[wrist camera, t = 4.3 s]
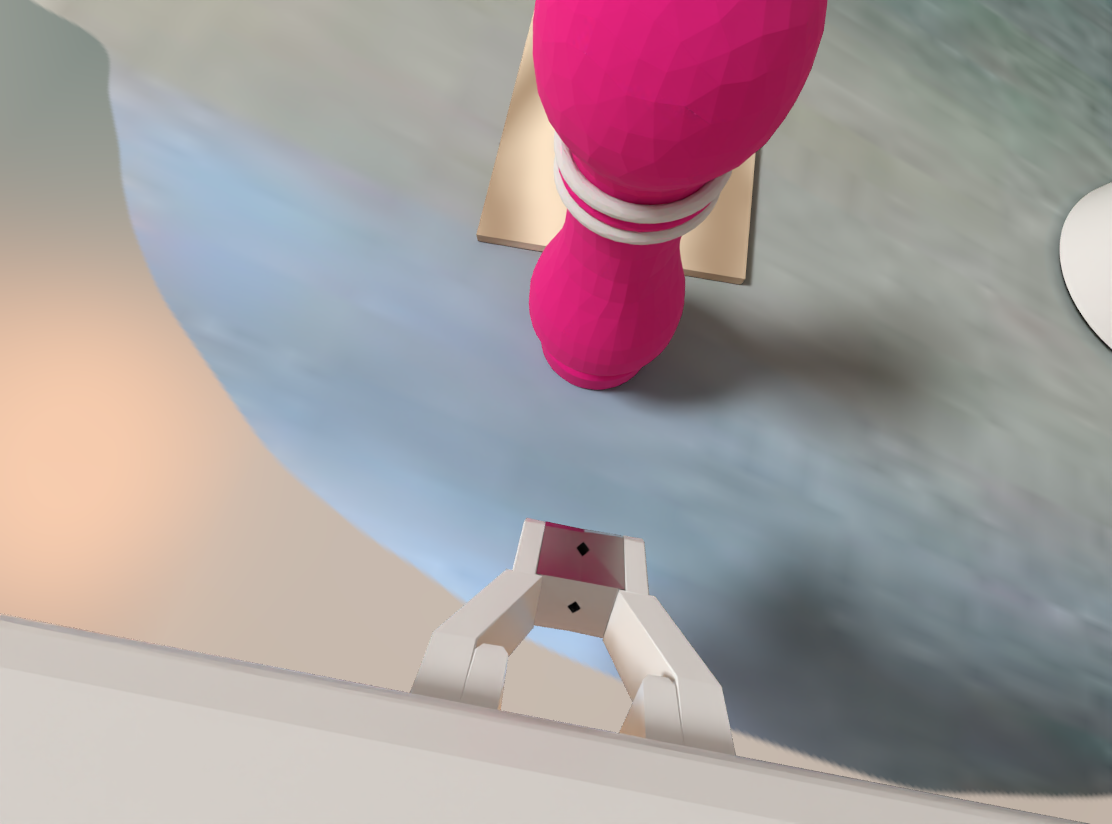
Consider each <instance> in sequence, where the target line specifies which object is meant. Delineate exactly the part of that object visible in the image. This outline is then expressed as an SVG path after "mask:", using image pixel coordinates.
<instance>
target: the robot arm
mask: <svg viewBox="0 0 1112 824" xmlns="http://www.w3.org/2000/svg"><path fill="white" fill-rule="evenodd" d="M1060 261H1061V268H1062V272H1063V276H1064V279H1065V282H1066V285H1067V288H1068V290H1069V292H1070V295H1071V297H1072V299H1073V301H1074V302H1075V304H1076V306H1077V308H1078V309H1079V311H1080V313H1081V314H1082V316H1083V317H1084V318H1085V320H1086V321H1087V323H1088V324H1089V325H1090V326H1091V328H1092V329H1093V330H1094V331H1095V332H1096V334H1097V335H1098V336H1099V337H1100V338H1101V339H1102V340H1103V341H1104V342H1105V343H1106V344H1107V345H1108V346H1109V347H1110V348H1111V349H1112V182H1111V183H1108V184H1106V185H1104V186H1102V187H1099V188H1097V189H1095V190H1093V191H1092V192H1090V193H1088V194H1087V195H1086V196H1084V197H1083V198H1082V199H1081V200H1080V201H1079V202H1078V203H1077V204H1076V205H1075V206H1074V207H1073V209H1072V210H1071V212H1070V213H1069V215H1068V217H1067V219H1066V221H1065V223H1064V226H1063V229H1062V233H1061V238H1060ZM544 527H545V529H544ZM534 625H535V626H542V627H548V628H554V629H561V630H567V631H572V632H577V633H581V634H586V635H591V636H595V637H600V638H603V642H604V644H605V646H606V648H607V650H608V652H609V654H610V656H611V658H612V660H613V663H614V665H615V667H616V669H617V671H618V673H619V675H620V677H621V679H622V681H623V683H624V686H625V688H626V690H627V692H628V694H629V696H630V698H631V700H632V702H633V703H632V706H631V708H630V710H629V712H628V714H627V717H626V719H625V721H624V723H623V725H622V727H621V730H620V732H619V733H616V732H611V731H605V730H600V729H595V728H589V727H584V726H580V725H574V724H569V723H564V722H559V721H554V720H548V719H543V718H538V717H532V716H527V715H522V714H517V713H512V712H507V711H501V704H502V697H503V689H504V683H505V675H506V668H507V661H508V657H509V656H510V655H511V654H512V652H513V651H514V650H515V649H516V648H517V646H518V645H519V644H520V643H521V642H522V640H523V639H524V638H525V637H526V636H527V634H528V633H529V632H530V631H531V630H532V629H533V627H534ZM0 824H1088V823H1082V822H1077V821H1072V820H1067V819H1062V818H1057V817H1051V816H1046V815H1041V814H1036V813H1031V812H1025V811H1020V810H1015V809H1010V808H1004V807H1000V806H994V805H989V804H983V803H979V802H974V801H968V800H963V799H958V798H953V797H948V796H943V795H937V794H932V793H927V792H922V791H917V790H911V789H906V788H901V787H896V786H891V785H885V784H880V783H875V782H869V781H865V780H859V779H854V778H849V777H844V776H839V775H834V774H828V773H823V772H818V771H813V770H807V769H802V768H797V767H792V766H786V765H782V764H776V763H771V762H766V761H760V760H755V759H750V758H745V757H740V756H736V754H735V749H734V744H733V739H732V734H731V729H730V725H729V720H728V715H727V710H726V705H725V700H724V696H723V691H722V687H721V685H720V684H719V682H718V681H717V680H716V678H715V677H714V676H713V674H712V673H711V672H710V670H709V669H708V667H707V666H706V665H705V663H704V662H703V661H702V659H701V658H700V657H699V655H698V654H697V653H696V651H695V650H694V648H693V647H692V646H691V644H690V643H689V642H688V640H687V639H686V638H685V636H684V635H683V633H682V632H681V631H680V629H679V628H678V627H677V625H676V624H675V623H674V621H673V620H672V619H671V617H670V616H669V614H668V613H667V612H666V610H665V609H664V608H663V606H662V605H661V604H660V602H659V601H658V600H657V598H656V597H655V596H651V595H649V588H648V577H647V565H646V554H645V543H644V541H643V539H640V538H634V537H628V536H622V535H617V534H611V533H605V532H599V531H593V530H587V529H580V528H575V527H570V526H565V525H561V524H556V523H551V522H546V524H545V522H544V521H539V520H534V519H529V518H526V519H525V521H524V524H523V529H522V533H521V537H520V541H519V545H518V549H517V553H516V558H515V562H514V566H513V570H509V569H506V570H505V571H504V572H503V573H501V574H500V575H499V576H498V577H497V578H496V579H494V580H493V581H492V582H491V583H490V584H489V585H487V586H486V587H485V588H484V589H483V590H481V591H480V592H479V593H478V594H477V595H476V596H474V597H473V598H472V599H471V600H470V601H469V602H467V603H466V604H465V605H464V606H463V607H461V608H460V609H459V610H458V611H457V612H456V613H454V614H453V615H452V616H451V617H450V618H449V619H447V620H446V621H445V622H444V623H443V624H442V625H440V626H439V627H438V628H437V629H436V630H434V631H433V634H432V636H431V639H430V641H429V644H428V647H427V649H426V652H425V655H424V657H423V660H422V662H421V665H420V667H419V670H418V673H417V676H416V678H415V680H414V683H413V686H412V688H411V691H410V693H408V692H403V691H398V690H392V689H387V688H382V687H377V686H372V685H366V684H361V683H356V682H351V681H346V680H340V679H335V678H330V677H325V676H320V675H315V674H309V673H304V672H299V671H294V670H289V669H283V668H278V667H273V666H268V665H263V664H258V663H253V662H247V661H242V660H237V659H232V658H227V657H221V656H216V655H211V654H206V653H201V652H196V651H190V650H185V649H180V648H175V647H170V646H165V645H159V644H155V643H149V642H144V641H139V640H134V639H129V638H124V637H118V636H113V635H108V634H103V633H97V632H93V631H88V630H82V629H77V628H72V627H67V626H62V625H57V624H52V623H46V622H41V621H36V620H30V619H26V618H21V617H16V616H11V615H6V614H1V613H0Z"/></svg>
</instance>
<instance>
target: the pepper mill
mask: <svg viewBox="0 0 1112 824" xmlns="http://www.w3.org/2000/svg"><path fill="white" fill-rule="evenodd" d="M826 8H827V0H536V2H535V9H534V16H533V62H534V69H535V76H536V83H537V90H538V94H539V97H540V100H541V102H542V105H543V108H544V110H545V113H546V115H547V118H548V120H549V122H550V124H551V125H552V127H553V128H554V130H555V133H554V152H555V158H554V168H553V171H554V181H555V185H556V189H557V191H558V193H559V196H560V198H561V200H562V202H563V203H564V205H565V206H566V207H567V212H566V218H565V223H564V225H563V227H562V229H561V230H560V231H559V232H558V234H557V235H556V236H555V237H554V238H553V239H552V240H551V241H550V242H549V244H548V245H547V246H546V247H545V249H544V251H543V253H542V254H541V256H540V258H539V260H538V262H537V264H536V267H535V269H534V271H533V275H532V278H531V284H530V295H529V310H530V317H531V320H532V324H533V328H534V330H535V332H536V335H537V336H538V338H539V339H540V341H541V344H542V349H543V353H544V355H545V357H546V359H547V361H548V363H549V365H550V366H551V367H552V369H553V370H554V371H555V372H556V373H557V374H558V375H559V376H560V377H562V378H563V379H565V380H566V381H568V382H569V383H571V384H573V385H576V386H578V387H581V388H587V389H594V390H601V389H608V388H612V387H616V386H619V385H621V384H623V383H625V382H627V381H628V380H630V379H631V378H632V377H634V376H635V375H636V374H637V373H638V371H639V370H640V369H641V368H642V367H643V366H645V365H646V364H648V363H650V362H651V361H652V360H653V359H654V358H656V357H657V356H658V355H659V354H660V353H661V352H662V351H663V350H664V349H665V348H666V346H667V345H668V344H669V342H670V340H671V338H672V337H673V335H674V333H675V330H676V328H677V326H678V323H679V321H680V318H681V315H682V311H683V306H684V297H685V277H684V271H683V266H682V261H681V255H680V240H681V237H682V236H683V235H685V234H686V233H688V232H690V231H691V230H693V229H694V228H696V227H697V226H698V225H699V224H700V223H702V222H703V221H704V220H705V219H706V218H707V216H708V215H709V214H710V213H711V211H712V210H713V208H714V207H715V205H716V203H717V201H718V198H719V195H720V192H721V191H722V189H723V188H724V186H725V185H726V183H727V182H728V180H729V178H730V176H731V173H732V170H733V169H735V168H737V167H739V166H740V165H741V164H742V163H744V162H745V161H746V160H747V159H748V158H749V157H751V156H752V155H753V154H754V153H755V152H756V151H758V150H759V149H760V148H761V147H762V146H764V145H765V144H766V143H767V142H768V140H769V139H770V138H771V136H772V135H773V134H774V132H775V131H776V130H777V128H778V127H779V126H780V124H781V123H782V122H783V120H784V119H785V118H786V116H787V114H788V113H789V111H790V110H791V108H792V107H793V105H794V103H795V102H796V100H797V98H798V96H799V94H800V92H801V90H802V88H803V86H804V84H805V82H806V80H807V77H808V75H809V73H810V71H811V69H812V66H813V63H814V59H815V56H816V53H817V50H818V47H819V44H820V41H821V38H822V35H823V31H824V24H825V16H826Z"/></svg>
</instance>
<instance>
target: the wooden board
mask: <svg viewBox="0 0 1112 824" xmlns="http://www.w3.org/2000/svg"><path fill="white" fill-rule="evenodd" d="M533 16H534V13H533ZM554 133H555V130H554V128H553V127H552V125H551V124H550V122H549V120H548V118H547V115H546V113H545V110H544V108H543V105H542V102H541V100H540V97H539V94H538V90H537V83H536V76H535V69H534V62H533V17H532V21H531V25H530V28H529V32H528V36H527V40H526V44H525V48H524V52H523V56H522V60H521V63H520V67H519V71H518V75H517V79H516V83H515V87H514V91H513V94H512V98H511V102H510V106H509V110H508V114H507V118H506V122H505V126H504V129H503V133H502V137H501V141H500V145H499V149H498V153H497V157H496V161H495V164H494V168H493V172H492V176H491V180H490V184H489V188H488V192H487V196H486V199H485V203H484V207H483V211H482V215H481V219H480V223H479V227H478V231H477V234H476V235H477V239H478V241H482V242H488V243H494V244H500V245H506V246H512V247H518V248H524V249H530V250H536V251H542V252H543V251H544V249H545V247H546V246H547V245H548V244H549V242H550V241H551V240H552V239H553V238H554V237H555V236H556V235H557V234H558V232H559V231H560V230H561V229H562V227H563V225H564V223H565V218H566V212H567V207H566V206H565V205H564V203H563V202H562V200H561V198H560V196H559V193H558V191H557V189H556V185H555V181H554V171H553V168H554V158H555V152H554ZM754 164H755V153H754V154H753V155H752V156H751V157H749V158H748V159H747V160H746V161H745V162H744V163H742V164H741V165H740V166H739V167H737V168H735V169H733V170H732V173H731V176H730V178H729V180H728V182H727V183H726V185H725V186H724V188H723V189H722V191H721V192H720V195H719V198H718V201H717V203H716V205H715V207H714V208H713V210H712V211H711V213H710V214H709V215H708V216H707V218H706V219H705V220H704V221H703V222H702V223H700V224H699V225H698V226H697V227H696V228H694V229H693V230H691V231H690V232H688V233H686V234H685V235H683V236H682V237H681V240H680V255H681V261H682V266H683V271H684V275H686V276H692V277H698V278H704V279H710V280H716V281H723V282H729V283H735V284H742V282H743V281H744V280H745V276H746V263H747V251H748V238H749V226H750V214H751V201H752V189H753V176H754Z"/></svg>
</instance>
